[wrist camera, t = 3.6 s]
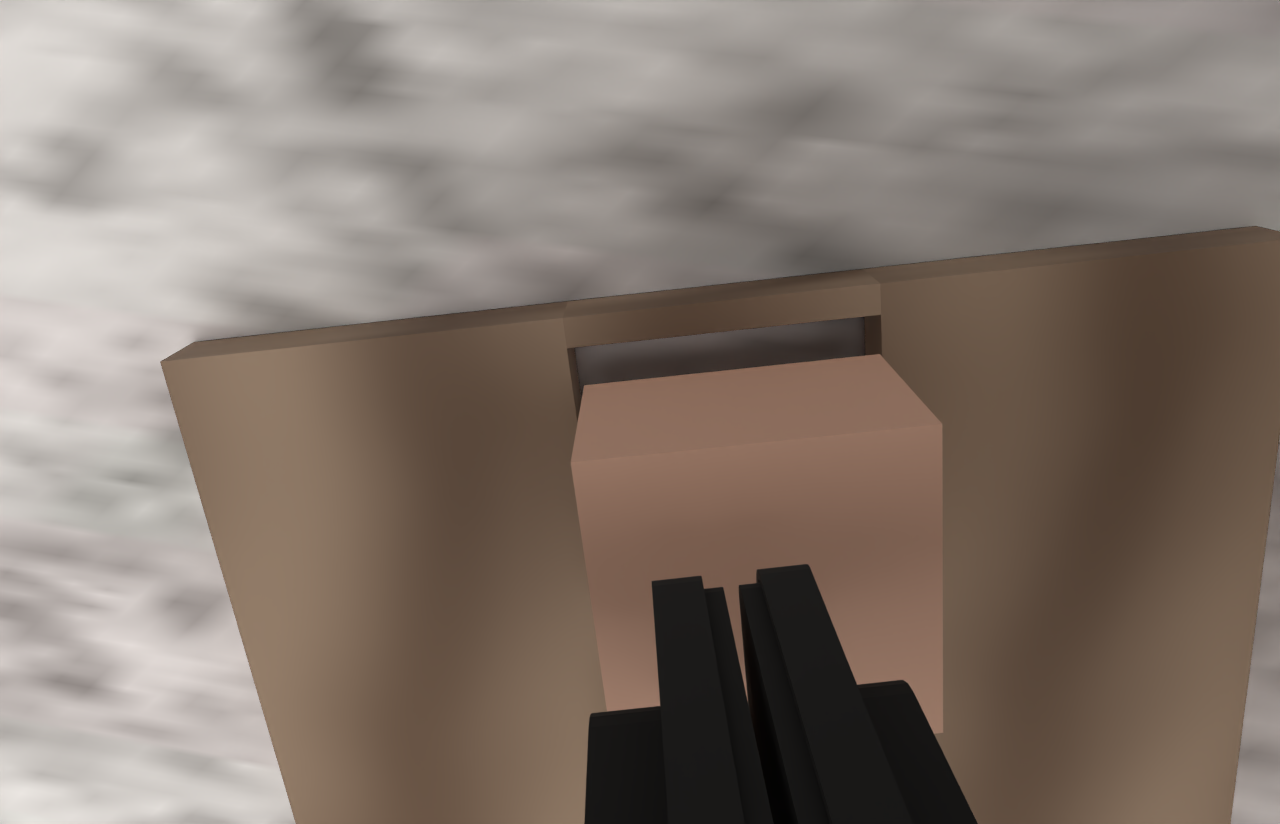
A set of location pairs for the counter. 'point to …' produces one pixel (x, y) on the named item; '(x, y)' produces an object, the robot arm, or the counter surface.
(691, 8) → the counter surface
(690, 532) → the pink square block
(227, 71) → the counter surface
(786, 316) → the walnut board
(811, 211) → the counter surface
